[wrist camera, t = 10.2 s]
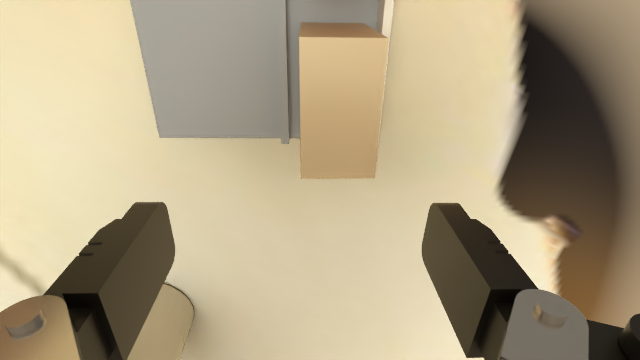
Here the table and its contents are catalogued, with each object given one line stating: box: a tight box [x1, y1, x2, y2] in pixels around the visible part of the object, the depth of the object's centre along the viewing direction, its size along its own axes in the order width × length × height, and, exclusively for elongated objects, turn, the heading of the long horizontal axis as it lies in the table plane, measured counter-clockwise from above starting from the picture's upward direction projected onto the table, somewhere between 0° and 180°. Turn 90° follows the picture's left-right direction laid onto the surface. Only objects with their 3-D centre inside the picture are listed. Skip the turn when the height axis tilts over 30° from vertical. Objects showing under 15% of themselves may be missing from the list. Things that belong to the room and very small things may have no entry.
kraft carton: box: [299, 22, 389, 178], centre depth 23 cm, size 5×8×9 cm, turn 179°
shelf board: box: [130, 0, 394, 145], centre depth 24 cm, size 20×18×4 cm
